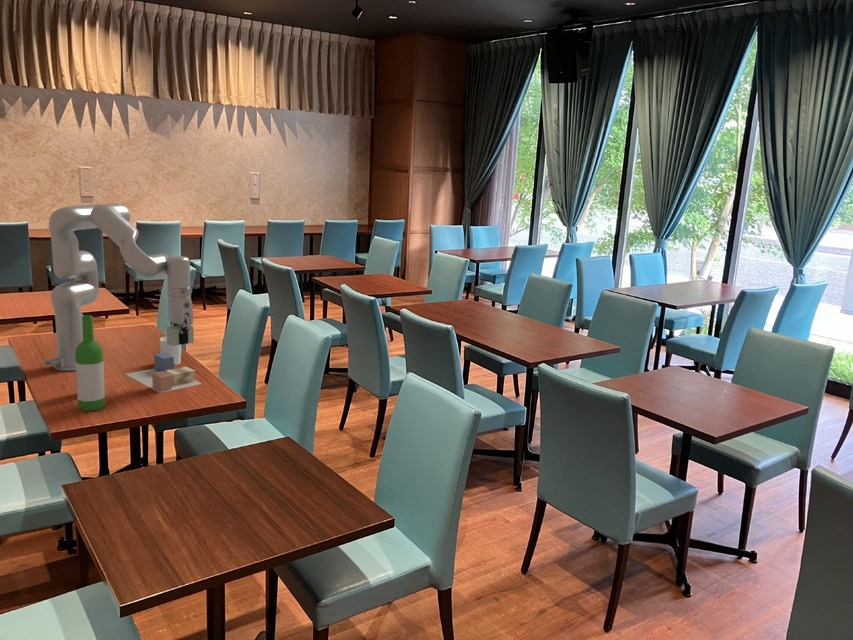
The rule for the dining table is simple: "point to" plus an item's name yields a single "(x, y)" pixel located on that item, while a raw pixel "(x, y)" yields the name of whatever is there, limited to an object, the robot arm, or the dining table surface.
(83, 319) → the wine bottle
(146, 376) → the felt placemat
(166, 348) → the white cup
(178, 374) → the beech block
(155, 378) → the terracotta block
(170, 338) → the sage block
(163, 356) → the slate blue block
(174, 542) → the dining table surface
